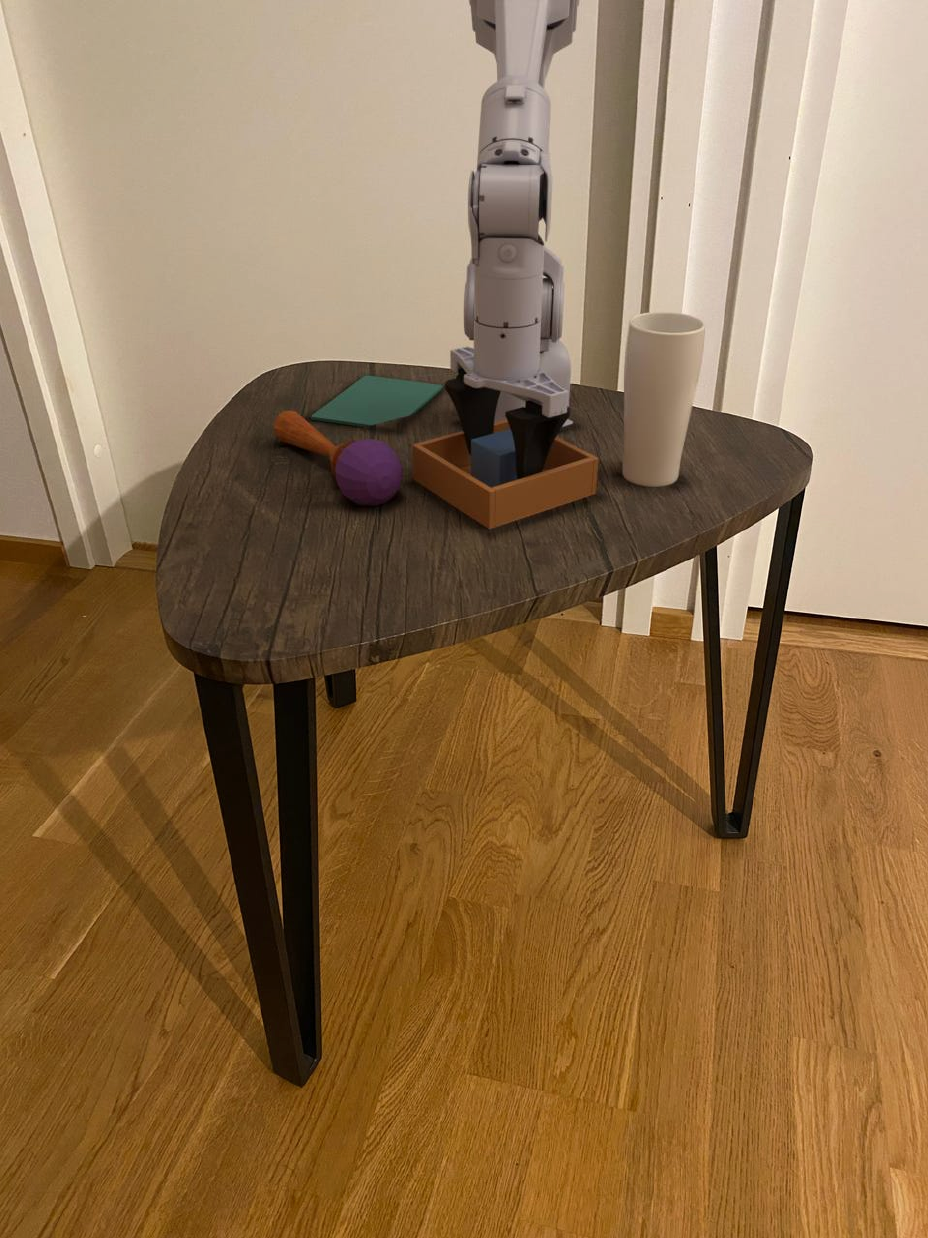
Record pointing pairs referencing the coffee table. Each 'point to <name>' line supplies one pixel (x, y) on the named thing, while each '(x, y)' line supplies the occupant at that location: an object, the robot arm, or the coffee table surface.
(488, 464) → the block
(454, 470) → the bin
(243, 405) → the coffee table surface
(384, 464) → the maraca
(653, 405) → the white vase
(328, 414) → the mat
